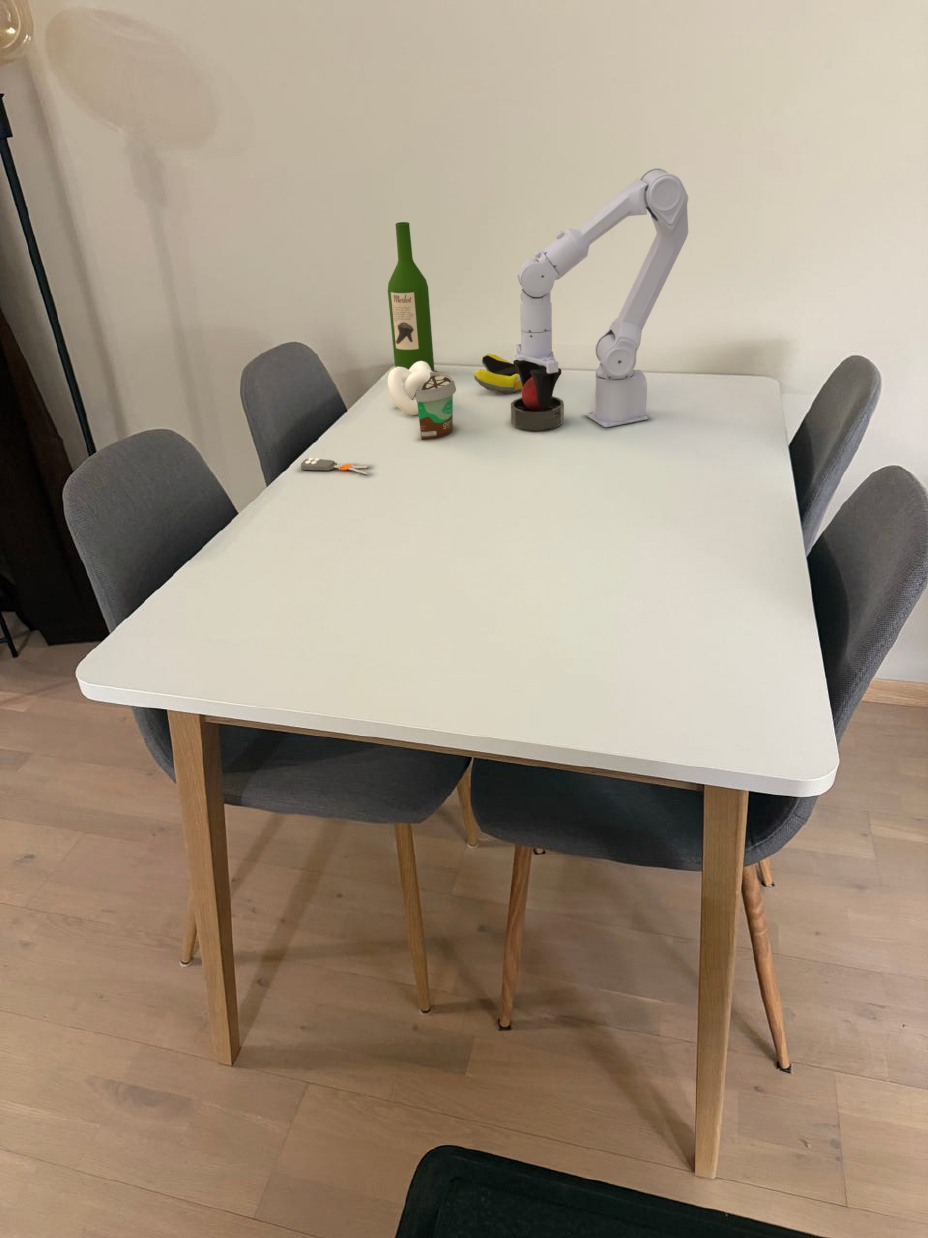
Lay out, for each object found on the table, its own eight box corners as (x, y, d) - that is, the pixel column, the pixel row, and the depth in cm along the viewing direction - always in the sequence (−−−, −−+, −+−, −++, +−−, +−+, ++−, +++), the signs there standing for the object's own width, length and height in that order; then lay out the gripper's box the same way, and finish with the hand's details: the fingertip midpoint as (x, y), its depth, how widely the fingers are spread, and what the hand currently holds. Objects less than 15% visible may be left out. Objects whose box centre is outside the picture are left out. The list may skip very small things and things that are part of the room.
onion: (531, 419, 172) (531, 378, 168) (516, 411, 176) (515, 371, 172) (557, 413, 174) (557, 372, 170) (542, 405, 179) (541, 365, 174)
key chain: (299, 471, 162) (298, 463, 161) (307, 463, 165) (306, 455, 164) (366, 475, 159) (366, 467, 158) (374, 467, 162) (373, 459, 161)
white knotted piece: (383, 403, 192) (378, 361, 187) (437, 395, 194) (434, 354, 190) (394, 420, 182) (390, 376, 178) (451, 411, 185) (448, 368, 180)
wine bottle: (392, 381, 205) (376, 227, 188) (400, 369, 212) (386, 220, 195) (430, 381, 204) (418, 225, 186) (437, 369, 211) (427, 218, 194)
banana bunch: (473, 397, 192) (520, 397, 190) (472, 371, 189) (519, 371, 187) (484, 376, 205) (528, 375, 203) (483, 351, 202) (527, 351, 200)
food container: (451, 443, 170) (447, 391, 165) (419, 442, 171) (415, 391, 166) (464, 420, 180) (461, 371, 175) (434, 420, 181) (430, 370, 176)
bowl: (549, 411, 182) (549, 392, 180) (572, 426, 174) (572, 406, 172) (503, 420, 179) (502, 400, 177) (524, 436, 171) (523, 415, 169)
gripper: (501, 323, 172) (503, 393, 179) (533, 340, 160) (534, 415, 167) (534, 318, 174) (535, 387, 181) (568, 335, 162) (568, 408, 169)
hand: (537, 400), depth 174 cm, fingers closed on onion, 6 cm apart
